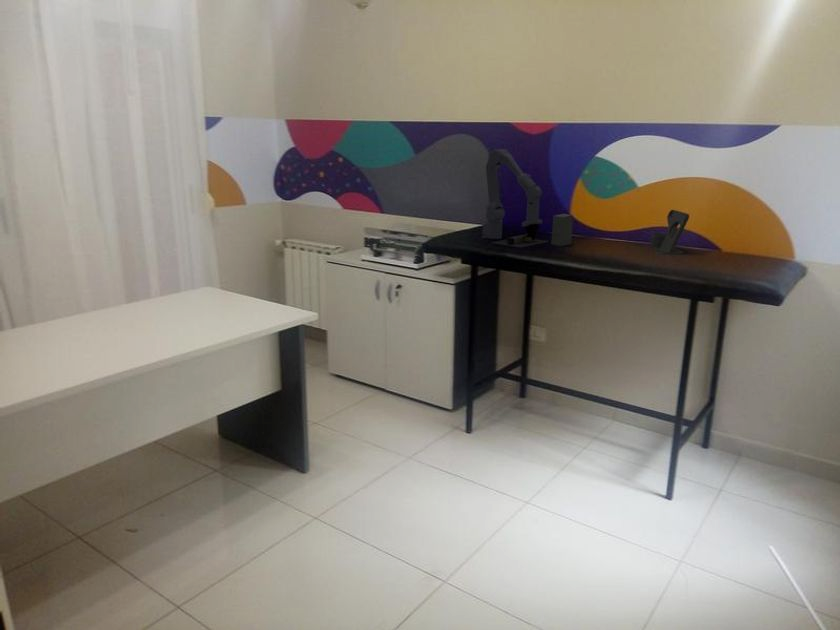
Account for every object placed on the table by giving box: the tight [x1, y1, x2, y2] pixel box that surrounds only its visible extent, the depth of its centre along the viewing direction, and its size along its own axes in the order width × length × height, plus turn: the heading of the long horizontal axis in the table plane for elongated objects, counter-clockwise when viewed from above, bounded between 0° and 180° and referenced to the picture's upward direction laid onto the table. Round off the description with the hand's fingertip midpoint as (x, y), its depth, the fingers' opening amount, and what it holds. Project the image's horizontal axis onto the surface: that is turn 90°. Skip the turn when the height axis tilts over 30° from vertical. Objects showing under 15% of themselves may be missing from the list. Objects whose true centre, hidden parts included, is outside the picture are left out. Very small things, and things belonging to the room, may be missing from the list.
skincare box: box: [551, 213, 574, 247], centre depth 289 cm, size 8×6×15 cm
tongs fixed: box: [506, 233, 528, 245], centre depth 295 cm, size 3×16×3 cm, turn 135°
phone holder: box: [649, 209, 690, 255], centre depth 279 cm, size 17×10×18 cm, turn 4°
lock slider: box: [524, 237, 532, 242], centre depth 295 cm, size 2×3×2 cm
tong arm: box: [508, 234, 527, 245], centre depth 293 cm, size 1×13×3 cm, turn 136°
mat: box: [490, 238, 550, 249], centre depth 297 cm, size 18×24×1 cm
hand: (531, 239), depth 297 cm, fingers closed
